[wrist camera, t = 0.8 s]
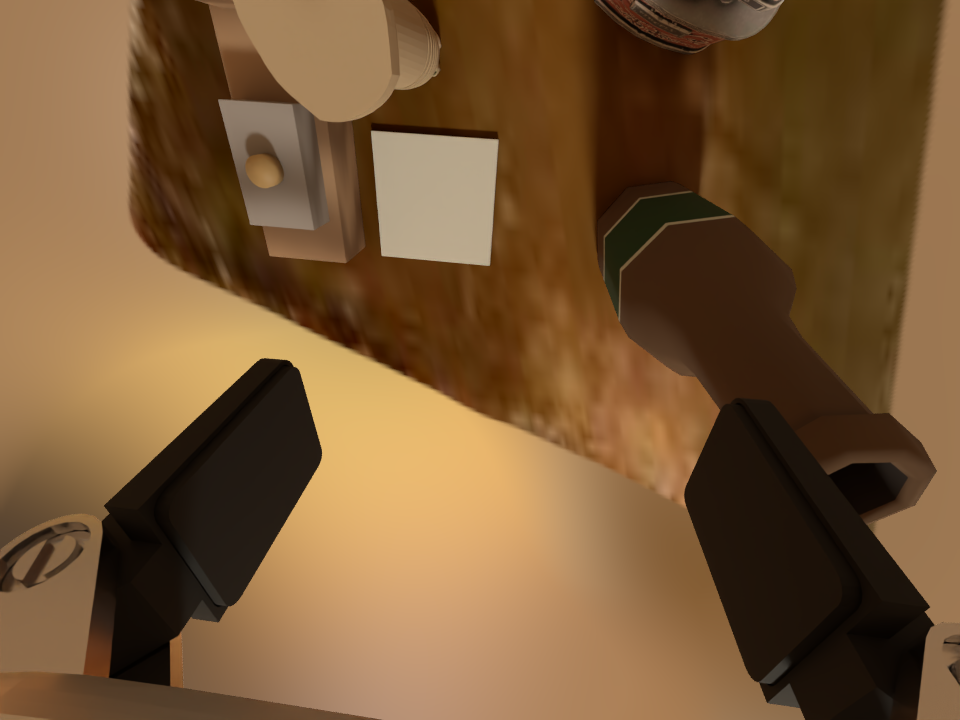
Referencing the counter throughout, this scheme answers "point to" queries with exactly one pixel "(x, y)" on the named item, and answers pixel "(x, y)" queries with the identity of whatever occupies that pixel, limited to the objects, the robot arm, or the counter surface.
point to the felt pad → (435, 196)
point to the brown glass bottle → (746, 337)
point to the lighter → (690, 20)
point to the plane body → (287, 156)
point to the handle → (342, 51)
